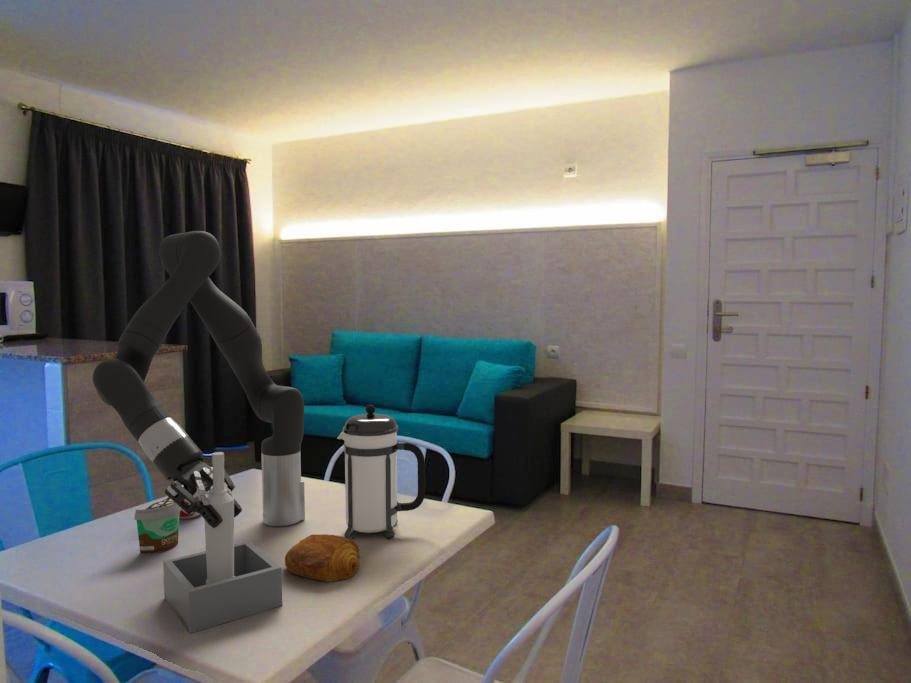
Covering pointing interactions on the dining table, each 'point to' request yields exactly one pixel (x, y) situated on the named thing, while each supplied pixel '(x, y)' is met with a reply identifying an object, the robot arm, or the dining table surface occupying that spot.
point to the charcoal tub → (222, 588)
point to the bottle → (220, 527)
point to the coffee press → (375, 473)
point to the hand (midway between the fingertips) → (228, 518)
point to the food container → (158, 526)
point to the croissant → (324, 557)
